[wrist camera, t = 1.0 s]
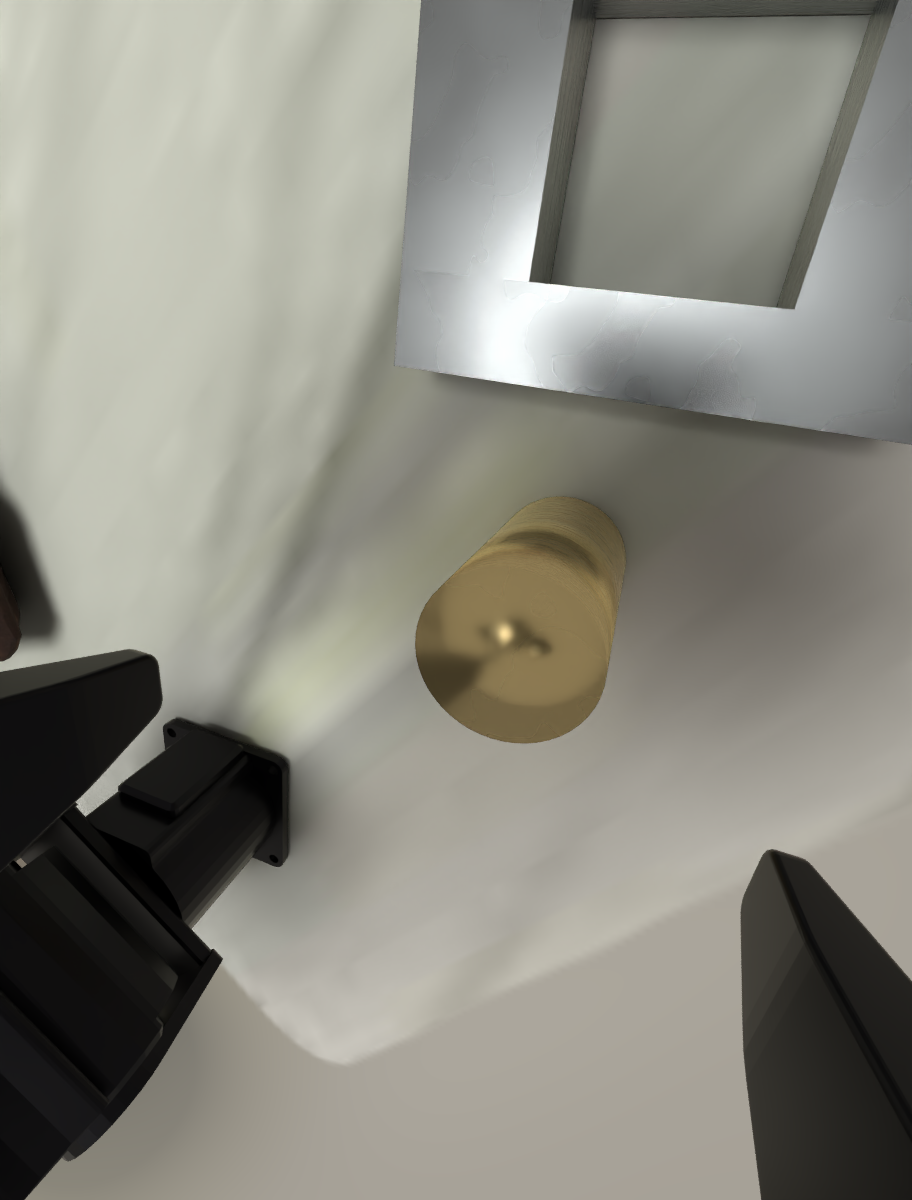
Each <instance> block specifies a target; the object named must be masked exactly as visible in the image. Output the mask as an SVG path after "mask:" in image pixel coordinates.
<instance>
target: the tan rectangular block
mask: <svg viewBox="0 0 912 1200" xmlns="http://www.w3.org/2000/svg"><path fill="white" fill-rule="evenodd" d="M625 566H626V554H625V547H624V543H623V540H622V537H621V535H620V533H619V531H618V529H617V527H616V526H615V525H614V523H613V522H612V521H611V519H610V518H609V517H608V516H607V515H606V514H605V513H604V512H602V511H601V510H600V509H598V508H597V507H595V506H593V505H592V504H590V503H588V502H585V501H583V500H580V499H576V498H571V497H549V498H544V499H540V500H538V501H535V502H533V503H531V504H529V505H527V506H525V507H524V508H522V509H521V510H520V511H519V512H517V513H516V514H515V515H514V516H513V517H512V518H511V519H510V520H509V521H508V522H507V523H506V524H505V525H504V526H503V527H502V528H501V529H500V530H499V531H498V532H497V533H496V534H495V535H494V536H493V537H492V538H490V539H489V540H488V541H487V542H486V543H485V544H484V545H483V546H482V547H481V548H480V549H479V550H478V551H477V552H476V553H475V554H474V555H473V556H472V557H471V558H470V559H469V560H468V561H467V562H466V563H465V564H464V565H463V566H462V567H461V568H459V569H458V570H457V571H456V572H455V573H454V574H453V575H452V576H451V577H450V578H449V579H448V580H447V581H446V582H445V583H444V584H443V585H442V586H441V587H440V588H439V589H438V590H437V591H436V592H435V593H434V594H433V595H432V596H431V598H430V599H429V601H428V602H427V603H426V605H425V607H424V609H423V611H422V613H421V615H420V618H419V621H418V625H417V630H416V639H415V648H416V657H417V662H418V666H419V669H420V672H421V675H422V678H423V680H424V682H425V684H426V686H427V688H428V689H429V691H430V692H431V694H432V695H433V697H434V698H435V699H436V701H437V702H438V703H439V704H440V706H441V707H442V708H443V709H444V710H445V711H446V712H447V713H448V714H449V715H451V716H452V717H453V718H454V719H456V720H457V721H458V722H460V723H461V724H463V725H464V726H466V727H467V728H469V729H471V730H473V731H475V732H477V733H479V734H481V735H484V736H486V737H489V738H492V739H496V740H500V741H504V742H511V743H537V742H542V741H547V740H551V739H554V738H557V737H560V736H562V735H564V734H566V733H568V732H570V731H571V730H573V729H574V728H576V727H577V726H578V725H580V724H581V723H582V722H583V721H584V720H585V719H586V718H587V717H588V716H589V715H590V713H591V712H592V711H593V710H594V708H595V707H596V705H597V703H598V701H599V700H600V697H601V695H602V692H603V689H604V686H605V681H606V676H607V670H608V664H609V659H610V653H611V647H612V641H613V635H614V630H615V624H616V618H617V612H618V607H619V601H620V595H621V589H622V584H623V578H624V572H625Z"/></svg>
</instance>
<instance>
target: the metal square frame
mask: <svg viewBox="0 0 912 1200" xmlns="http://www.w3.org/2000/svg"><path fill="white" fill-rule="evenodd" d="M831 14H872V15H871V18H870V21H869V25H868V28H867V31H866V34H865V37H864V40H863V43H862V46H861V49H860V52H859V55H858V58H857V61H856V65H855V68H854V71H853V74H852V77H851V80H850V83H849V86H848V89H847V92H846V95H845V98H844V101H843V105H842V108H841V111H840V114H839V117H838V120H837V123H836V126H835V129H834V132H833V135H832V138H831V141H830V145H829V148H828V151H827V154H826V157H825V160H824V163H823V166H822V169H821V172H820V175H819V178H818V181H817V184H816V188H815V191H814V194H813V197H812V200H811V203H810V206H809V209H808V212H807V215H806V218H805V221H804V224H803V228H802V231H801V234H800V237H799V240H798V243H797V246H796V249H795V252H794V255H793V258H792V261H791V264H790V268H789V271H788V274H787V277H786V280H785V283H784V286H783V289H782V292H781V295H780V298H779V301H778V304H777V308H774V307H764V306H754V305H745V304H735V303H726V302H716V301H707V300H697V299H688V298H678V297H668V296H659V295H649V294H640V293H630V292H621V291H611V290H602V289H592V288H582V287H573V286H563V285H554V284H550V281H551V275H552V269H553V263H554V258H555V252H556V246H557V240H558V234H559V229H560V223H561V217H562V211H563V205H564V199H565V194H566V188H567V182H568V176H569V170H570V165H571V159H572V153H573V147H574V141H575V136H576V130H577V124H578V118H579V112H580V107H581V101H582V95H583V89H584V83H585V78H586V72H587V66H588V60H589V54H590V48H591V43H592V37H593V31H594V25H595V19H596V18H638V17H702V16H767V15H831ZM394 366H399V367H406V368H413V369H419V370H426V371H432V372H439V373H445V374H452V375H458V376H465V377H472V378H478V379H485V380H491V381H498V382H504V383H511V384H517V385H524V386H531V387H537V388H544V389H550V390H557V391H563V392H570V393H576V394H583V395H590V396H596V397H603V398H609V399H616V400H622V401H629V402H636V403H642V404H649V405H655V406H662V407H668V408H675V409H681V410H688V411H695V412H701V413H708V414H714V415H721V416H727V417H734V418H740V419H747V420H754V421H760V422H767V423H773V424H780V425H786V426H793V427H800V428H806V429H813V430H819V431H826V432H832V433H839V434H845V435H852V436H859V437H865V438H872V439H878V440H885V441H891V442H898V443H904V444H911V445H912V0H421V11H420V25H419V38H418V52H417V65H416V79H415V92H414V105H413V119H412V132H411V146H410V159H409V173H408V186H407V200H406V213H405V226H404V240H403V253H402V267H401V280H400V294H399V307H398V321H397V334H396V347H395V361H394Z"/></svg>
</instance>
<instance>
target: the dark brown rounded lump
mask: <svg viewBox="0 0 912 1200" xmlns="http://www.w3.org/2000/svg"><path fill="white" fill-rule="evenodd" d="M19 622H20V612H19V608H18V605H17V601H16V599H15V597H14V595H13V593H12V591H11V588H10V586H9V584H8V582H7V580H6V578H5V575H4V573H3V571H2V569H1V566H0V661H5V660H7V659H9V658H10V657H11V656H12V655H13V654H14V653H15V651H16V650H17V649H18V646H19V642H20V639H21V635H22V634H21V632H20V629H19Z"/></svg>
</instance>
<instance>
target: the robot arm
mask: <svg viewBox="0 0 912 1200" xmlns="http://www.w3.org/2000/svg"><path fill="white" fill-rule="evenodd" d="M162 701H163V696H162V688H161V680H160V672H159V665H158V661H157V660H156V658H155V657H154V656H152V655H150V654H147V653H144V652H141V651H137V650H133V649H127V650H121V651H116V652H110V653H104V654H99V655H93V656H87V657H82V658H76V659H71V660H65V661H59V662H54V663H48V664H42V665H37V666H31V667H26V668H20V669H14V670H9V671H3V672H0V1200H25V1198H26V1197H27V1196H28V1195H29V1194H30V1193H31V1192H32V1190H33V1189H34V1188H35V1187H36V1186H37V1185H38V1184H39V1183H40V1181H41V1180H42V1179H43V1178H44V1177H45V1176H46V1175H47V1174H48V1172H49V1171H50V1170H51V1169H52V1168H53V1167H54V1166H55V1164H56V1163H57V1162H58V1161H59V1160H60V1159H61V1158H63V1159H64V1160H66V1161H71V1160H73V1159H75V1158H77V1157H78V1156H79V1155H81V1154H82V1153H83V1152H85V1151H86V1150H87V1149H88V1148H89V1147H90V1146H92V1145H93V1144H94V1143H95V1142H96V1141H97V1140H98V1139H99V1138H100V1137H101V1136H102V1135H103V1134H104V1133H105V1132H106V1131H107V1130H108V1129H109V1128H110V1127H111V1125H113V1123H114V1122H115V1121H116V1120H117V1119H118V1117H120V1116H121V1114H122V1113H123V1112H124V1111H125V1110H126V1109H127V1107H128V1106H129V1105H130V1104H131V1102H132V1101H133V1100H134V1099H135V1097H136V1096H137V1095H138V1094H139V1092H140V1091H141V1090H142V1088H143V1087H144V1085H145V1084H146V1083H147V1081H148V1080H149V1079H150V1077H151V1076H152V1075H153V1073H154V1071H155V1070H156V1068H157V1067H158V1065H159V1064H160V1062H161V1060H162V1059H163V1057H164V1056H165V1054H166V1052H167V1051H168V1049H169V1047H170V1046H171V1044H172V1043H173V1041H174V1039H175V1037H176V1036H177V1034H178V1033H179V1031H180V1029H181V1028H182V1026H183V1024H184V1023H185V1021H186V1019H187V1018H188V1016H189V1014H190V1013H191V1011H192V1010H193V1008H194V1006H195V1005H196V1003H197V1001H198V1000H199V998H200V996H201V994H202V993H203V991H204V990H205V988H206V986H207V985H208V983H209V982H210V980H211V978H212V977H213V975H214V973H215V971H216V970H217V968H218V967H219V965H220V963H221V962H222V960H223V958H222V957H221V956H220V955H219V954H218V953H217V952H216V951H215V950H214V949H211V950H210V949H209V947H208V946H207V945H206V944H205V943H204V942H203V941H202V940H201V939H200V938H199V937H198V936H197V935H196V934H195V933H194V932H193V930H192V928H193V927H194V925H195V924H196V923H197V922H198V921H199V919H200V918H201V917H202V916H203V915H204V914H205V912H206V911H207V910H208V909H209V908H210V906H211V905H212V904H213V903H214V902H215V901H216V899H217V898H218V897H219V896H220V895H221V893H222V892H223V891H224V890H225V889H226V888H227V886H228V885H229V884H230V883H231V882H232V880H233V879H234V878H235V877H236V876H237V875H238V873H239V872H240V871H241V870H242V869H243V867H244V866H245V865H246V864H247V863H248V862H249V860H250V859H251V858H252V857H253V858H256V859H258V860H260V861H263V862H265V863H268V864H270V865H272V866H275V867H280V866H282V865H283V863H284V862H285V861H286V859H287V857H288V767H287V764H286V762H285V761H284V760H283V759H282V758H281V757H279V756H277V755H274V754H271V753H268V752H266V751H263V750H260V749H257V748H255V747H252V746H249V745H246V744H244V743H241V742H238V741H235V740H233V739H230V738H227V737H224V736H222V735H219V734H216V733H213V732H211V731H208V730H205V729H202V728H200V727H197V726H194V725H191V724H189V723H186V722H183V721H180V720H178V719H172V720H170V721H169V722H167V723H166V724H165V725H164V726H163V735H164V743H165V751H163V752H162V753H161V754H159V755H158V756H157V757H155V758H154V759H153V760H151V761H150V762H149V763H148V764H146V765H145V766H144V767H142V768H141V769H140V770H138V771H137V772H136V773H134V774H133V775H132V776H130V777H129V778H128V779H126V780H125V781H124V782H122V783H121V784H120V785H119V786H118V792H117V793H116V794H114V795H113V796H112V797H110V798H109V799H108V800H107V801H105V802H104V803H103V804H101V805H100V806H99V807H97V808H96V809H95V810H94V811H92V812H91V813H90V814H88V815H87V816H86V817H85V816H84V815H83V814H82V813H81V812H80V810H79V809H78V808H77V807H76V806H77V805H78V804H77V803H76V801H77V800H78V799H79V798H80V797H81V796H82V795H83V794H84V793H85V792H86V791H87V790H88V789H89V788H90V787H91V786H92V785H93V784H94V783H95V782H96V781H97V780H98V779H99V778H100V777H101V775H102V774H103V773H104V772H105V771H106V770H107V769H108V768H109V767H110V766H111V764H112V763H113V762H114V761H115V760H116V759H117V758H118V757H119V756H120V755H121V753H122V752H123V751H124V750H125V749H126V748H127V747H128V746H129V745H130V743H131V742H132V741H133V740H134V739H135V738H136V737H137V736H138V735H139V734H140V732H141V731H142V730H143V729H144V728H145V727H146V726H147V725H148V724H149V723H150V721H151V720H152V719H153V718H154V717H155V716H156V715H157V713H158V712H159V710H160V708H161V705H162ZM20 858H22V860H23V861H24V862H25V863H26V864H27V865H26V866H24V867H23V868H21V867H20V866H19V865H18V864H17V863H16V861H17V860H18V859H20ZM741 965H742V967H741V968H742V1021H743V1022H742V1024H743V1052H744V1062H745V1072H746V1082H747V1090H748V1098H749V1106H750V1113H751V1121H752V1130H753V1138H754V1145H755V1154H756V1161H757V1169H758V1178H759V1185H760V1193H761V1200H912V981H911V980H910V978H909V977H908V976H907V975H906V974H905V973H904V972H903V970H902V969H901V968H900V967H899V966H898V965H897V963H895V961H894V960H893V959H892V958H891V956H890V955H889V954H888V953H887V952H886V951H885V950H884V948H883V947H882V946H881V945H880V944H879V943H878V942H877V940H876V939H875V938H874V937H873V936H872V934H871V933H870V932H869V931H868V930H867V929H866V928H865V927H864V925H863V924H862V923H861V922H860V921H859V919H858V918H857V917H856V916H855V915H854V914H853V912H852V911H851V910H850V909H849V908H848V907H847V905H846V904H845V903H844V902H843V901H842V900H841V899H840V897H839V896H838V895H837V894H836V893H835V892H834V890H833V889H832V888H831V887H830V886H829V885H828V883H827V882H826V881H825V880H824V879H823V878H822V877H821V875H820V874H819V873H818V872H817V871H816V870H815V868H814V867H813V866H812V865H811V864H810V863H809V862H808V861H806V860H805V859H803V858H800V857H797V856H794V855H790V854H787V853H784V852H781V851H778V850H774V849H771V850H767V851H766V852H765V853H764V854H763V855H762V857H761V859H760V861H759V863H758V866H757V868H756V870H755V872H754V874H753V876H752V879H751V881H750V883H749V885H748V887H747V889H746V892H745V894H744V897H743V900H742V905H741Z"/></svg>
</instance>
